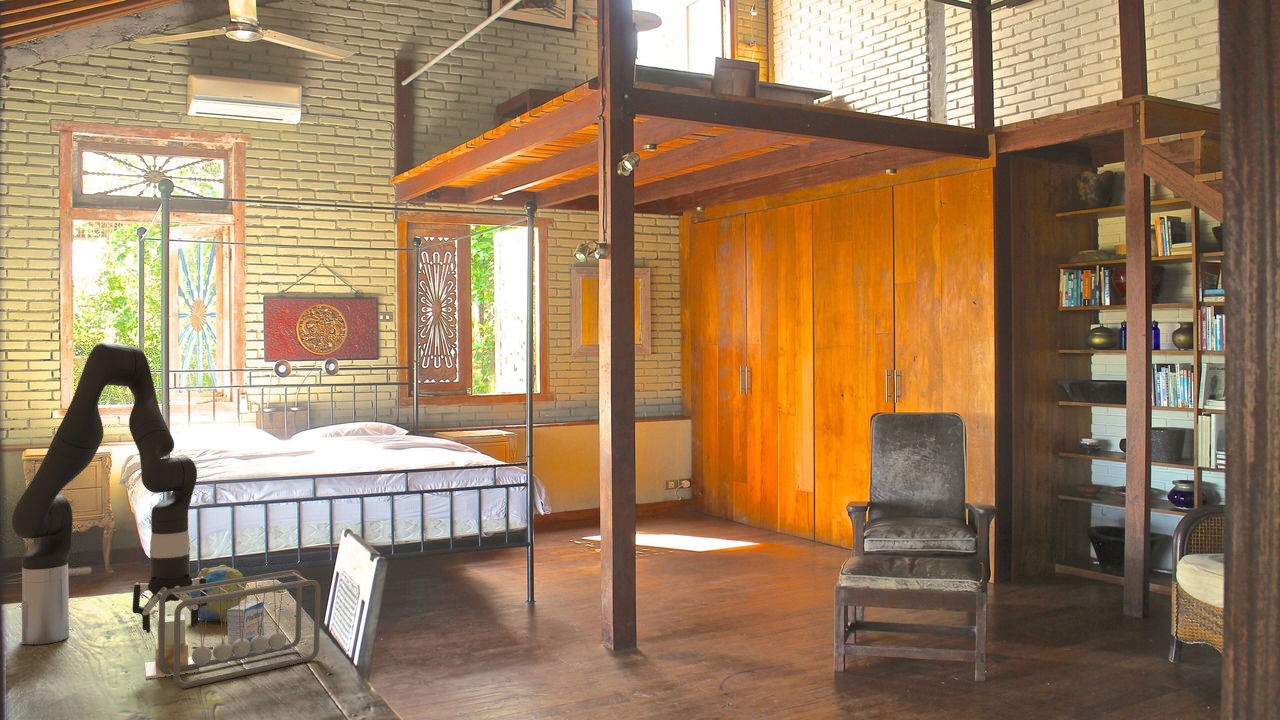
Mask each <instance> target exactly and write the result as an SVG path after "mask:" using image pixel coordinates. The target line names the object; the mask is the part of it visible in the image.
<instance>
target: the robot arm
mask: <svg viewBox="0 0 1280 720" xmlns="http://www.w3.org/2000/svg"><path fill="white" fill-rule="evenodd" d="M106 386H115V387H127V388H128V389H129V391H130V392H131V393H132V396H133V398H134V400H133V401H134V402H133V406H132V409H131V411H130V415H129V420H128V427H129V431H130V434H131V437H132V439H133V442H134V444H135V446H136V448H137V451H138V453H139V454H138V455H139V459H140V461H139V462H140V475H141V481H142V482H141V483H142V485H143V487H144V488H145V489H147V491H149V492H151V493H154V494H158V493H159V494H160V493H168V492H171V496H170V497H169V498H168V499H167V500H165V501H163V502H160V503H157V504H155V505H154V506H153V507H152V509H151V515H150V518H151V523H150V524H151V536H150V542H149V543H150V549H149V554H150V557H149V558H150V559H149V562H150V563H149V564H150V565H149V566H150V572H149V573H150V575H149V577H150V579H149V581H148V582H141V583H140V582H139V581H137V582H134V584H133V593H132V594H133V595H132V613H133V614H139V615H141V617H142V627H141V628H142V630H143V631H145V632H146V634H149V633H151V613H150V612H151V611H152V610H153V608H154V607H156V605H157V604H158V603H159V599H160V597H161V595H162V594H163V593H164V592H165V591H166V590H169V589H172V588H179V587H185V586H191V585H192V584H195V585H198V584H205V583H206V579H205V577H204V576H201V577H199V578H197V577H196V578H192V577H191V573H190V571H191V570H190V567H191V566H190V565H191V564H190V561H191V559H190V555H191V554H190V553H191V547H190V534H189V509H190V504H191V501H192V497H193V493H194V490H195V487H196V484H197V479H198V478H197V477H198V470H197V466H196V464H195V462H194V461H193V459H192V458H190V457H187V456H177V457H176V456H175V457H167V456H169V455H170V454H171V453H172V452H173V451H174V448H175V441H174V439H173V436H172V434H171V432H170V429H169V427H168V425H167V424H166V423H167V422H166V421H165V419H164V417H163V414H162V411H161V407H160V406H159V405H160V404H159V402H158V397H157V394H156V393H157V391H156V388H155V383H154V381H153V376H152V372H151V367H150V364H149V361H148V358H147V356H146V354H145V352H144V351H143V350H142V349H141V348H139V347H136V346H133V345H127V344H118V343H111V342H104V343H103V342H100V343H98V344H96V345H95V346H94V347H93V348H92V349H91V351H90V353H89V355H88V357H87V359H86V361H85V364H84V367H83V369H82V372H81V375H80V378H79V381H78V384H77V386H76V389H75V391H74V394H73V396H72V399H71V402H70V403H69V406H68V407H67V410H66V412H65V414H64V416H63V418H62V421H60V424H59V426H58V428H57V430H56V432H55V434H54V435H53V438H52V440H51V442H50V445H49V447H48V450H47V451H46V453H45V456H44V458H43V460H42V461H41V463H40V466H39V467H38V469H37V471H36V473H35V474H34V477H33V478H32V480H31V481H30V483H29V484H28V487H27V488H26V489H25V491H24V492H23V494H22V495H21V497H20V498H19V500H18V502H17V504H16V505H15V508H14V510H13V514H12V517H11V518H12V519H11V522H12V524H11V525H12V530H13V531H14V534H16V536H18V537H19V538H22V539H28V540H30V539H38V538H39V541H38V543H37V544H36V545H35V546H33V548H31V549H30V550H28V551H27V552H26V553H24V554H23V556H22V557H21V574H22V576H21V577H22V578H21V579H22V580H21V581H22V585H21V586H22V593H21V594H22V601H21V606H20V607H21V645H22V644H25V645H33V644H34V645H45V644H53V643H57V642H61V641H64V640H66V639H68V638H69V637H70V622H69V621H70V619H69V618H70V613H69V612H70V609H69V608H70V607H69V599H70V598H69V594H70V593H69V556H70V554H71V550H72V544H73V541H72V540H73V539H72V538H73V522H74V519H73V517H74V516H73V510H72V506H71V503H70V502H69V499H68V498H67V497H65V496H64V495H61V494H60V492H61V491H62V490H63V489H64V488H65V487H67V485H68V484H70V482H72V481H73V480H74V479H76V477H78V476H79V475H80V474H81V473H82V472H84V470H85V469H86V468H87V467H88V466H89V465H90V464H91V462H92V461H93V459H94V458H95V456H96V455H97V451H98V450H99V447H100V446H101V443H102V441H103V439H104V426H103V421H102V418H101V414H100V411H99V401H100V398H101V395H102V393H103V390H104V389H105V388H106ZM166 457H167V458H166ZM147 589H148V590H149V592H150V593H152V595H151V597H150V598H149V599H148V601H147V602H146V604H144V606H140V603H141V602H140V601H141V600H140V599H141V595H143V594H145V590H147ZM202 591H203V592H204V593H203V592H202ZM205 593H206V594H207V590H201V597H203V596H207V595H206V594H205ZM177 595H179V596H180V597H181V598H183V599H184V600H185V599H191V598H192V597H191V595H190V594H189V593H182V594H177ZM179 601H180V599H179V598H178V597H176V596H175V595H174V594H171V595H169V596H167V598H166V599H165V603H168V602H179ZM206 605H207V603H202V604H201V607H202V606H206ZM190 607H191V611H190V628H195V627H196V625H198V624H199V618H198V610H199V608H200V604H196V605H190Z"/></svg>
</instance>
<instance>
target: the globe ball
mask: <svg viewBox="0 0 1280 720" xmlns="http://www.w3.org/2000/svg"><path fill="white" fill-rule="evenodd" d="M201 576H204V577H205V579H206V583H211V582H217V581H224V580H230V579H237V578H243V577H244V575H243V573H242V572H240V571H239V570H238V569H236V568H233V567H230V566H227V564H220V565H219V566H213V567H209V568H208V567H203V568H201V569H200V571H199V574H197V577H196V578H199V577H201ZM192 585H195V584H192ZM192 585H191V586H192ZM239 585H240V586H239ZM239 585H232V586H226V587H220V594H221V593H227V592H234V591H238V587H239V591H240V590H246V587H247V585H248V583H244V584H239ZM241 586H242V587H241ZM221 588H222V589H223V590H222V589H221ZM244 588H245V589H244ZM224 590H225V591H226V592H225V591H224ZM188 593H189V594H190V595H191V597H192V598H197V597H200V591H194V592H188ZM215 594H219V588H213V589H207V596H209V595H215ZM244 600H247V598H246V596H244V597H239V602H238V598H232V599H228V605H227V599H226V600H221V615H220V601H214V602H209V604H208V603H207V605H208V612H207V605H206V606H202V607H201V611H200V608H199V610H198V620H200V621H201V620H202V621H205V622H217V621H218V620H219V621H220V622H221V619H222V623H224V624H225V618H226V622H227V623H228V619H227V616H226V607H227V610H228V609H231V608H233V607H235V606H238V605H240V604H241V601H244ZM185 608H186V609H188V610H189V612H191V607H190V606H186V607H185ZM206 613H207V620H206Z"/></svg>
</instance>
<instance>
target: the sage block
mask: <svg viewBox="0 0 1280 720" xmlns="http://www.w3.org/2000/svg"><path fill="white" fill-rule="evenodd" d="M185 636H186V618H185V615H184V614H181V625H180V644H185ZM157 639H158V644H159V616H158V617H157ZM171 645H174V614H173V615H165V646H171Z"/></svg>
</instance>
